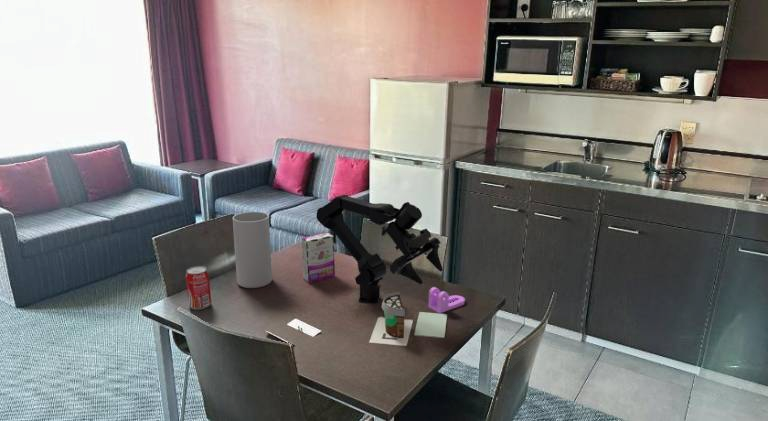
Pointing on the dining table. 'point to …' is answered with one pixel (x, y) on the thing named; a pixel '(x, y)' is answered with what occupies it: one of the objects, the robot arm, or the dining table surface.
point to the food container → (394, 315)
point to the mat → (431, 325)
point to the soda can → (198, 287)
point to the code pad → (383, 338)
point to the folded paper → (302, 328)
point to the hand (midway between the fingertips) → (432, 277)
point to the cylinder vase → (252, 249)
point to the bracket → (443, 300)
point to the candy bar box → (318, 257)
